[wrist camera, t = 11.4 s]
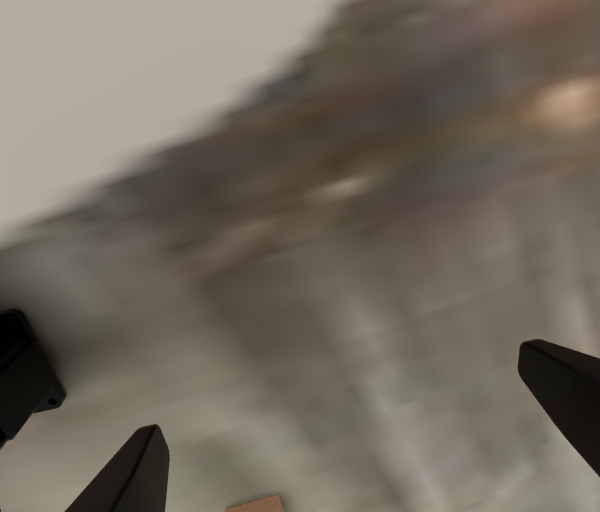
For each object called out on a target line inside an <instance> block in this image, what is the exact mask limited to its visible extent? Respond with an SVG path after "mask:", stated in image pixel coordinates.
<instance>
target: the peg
mask: <svg viewBox="0 0 600 512" xmlns="http://www.w3.org/2000/svg"><path fill="white" fill-rule="evenodd" d="M227 512H284V510H283V507H282V504H281V501H280V497H279V494H278V495H274V496H271V497H267V498H264V499H260V500H256V501H253V502H249V503H245V504H242V505H238V506H235V507H231V508H227Z"/></svg>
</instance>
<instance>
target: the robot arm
mask: <svg viewBox="0 0 600 512" xmlns="http://www.w3.org/2000/svg"><path fill="white" fill-rule="evenodd" d="M10 317H12V318H14V319H15V320H16V321H12V320H11V319H10ZM518 372H519V375H520V377H521V379H522V380H523V382H524V383H525V384H526V386H527V387H528V388H529V390H530V391H531V392H532V394H533V395H534V396H535V398H536V399H537V401H538V402H539V403H540V405H541V406H542V407H543V409H544V410H545V411H546V413H547V414H548V416H549V417H550V418H551V420H552V421H553V422H554V424H555V425H556V426H557V428H558V429H559V430H560V431H561V433H562V434H563V435H564V436H565V438H566V439H567V440H568V441H569V442H570V444H571V445H572V446H573V447H574V448H575V449H576V450H577V452H578V453H579V454H580V455H581V456H582V457H583V458H584V460H585V461H586V462H587V463H588V464H589V465H590V466H591V468H592V469H593V470H594V471H595V472H596V473H597V474H598V476H599V477H600V358H596V357H593V356H590V355H587V354H584V353H581V352H578V351H575V350H572V349H569V348H566V347H563V346H559V345H556V344H553V343H550V342H547V341H544V340H541V339H534V340H529V341H525V342H523V343H522V344H521V345H520V350H519V360H518ZM52 398H54V399H56V400H53V399H52ZM64 400H65V394H64V392H63V390H62V388H61V386H60V384H59V382H58V380H57V377H56V375H55V373H54V371H53V369H52V367H51V365H50V363H49V361H48V359H47V357H46V355H45V353H44V351H43V349H42V347H41V346H40V344H39V343H38V341H37V339H36V337H35V335H34V333H33V331H32V329H31V327H30V325H29V323H28V321H27V319H26V317H25V315H24V314H23V312H21V311H19V310H16V309H9V310H4V311H0V450H1V448H2V447H3V446H4V444H5V443H6V442H7V441H8V440H12V439H13V438H14V437H15V436H16V435H17V433H18V432H19V431H20V429H21V428H22V427H23V425H24V424H25V423H26V421H27V420H28V419H29V417H30V416H31V415H32V413H37V412H41V411H46V410H51V409H55V408H58V407H60V406H61V405H62V403H63V402H64ZM169 461H170V455H169V449H168V446H167V444H166V441H165V439H164V436H163V434H162V431H161V429H160V427H159V426H158V425H157V424H153V425H149V426H144V427H141V428H139V429H138V430H136V432H135V433H134V434H133V435H132V436H131V437H130V438H129V439H128V441H127V442H126V443H125V444H124V445H123V446H122V447H121V448H120V450H119V451H118V452H117V453H116V454H115V455H114V456H113V458H112V459H111V460H110V461H109V462H108V463H107V464H106V465H105V467H104V468H103V469H102V470H101V471H100V472H99V473H98V475H97V476H96V477H95V478H94V479H93V480H92V481H91V482H90V484H89V485H88V486H87V487H86V488H85V489H84V490H83V491H82V493H81V494H80V495H79V496H78V497H77V498H76V499H75V501H74V502H73V503H72V504H71V505H70V506H69V507H68V508H67V510H66V511H65V512H165V505H166V494H167V483H168V472H169ZM0 512H1V509H0Z"/></svg>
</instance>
